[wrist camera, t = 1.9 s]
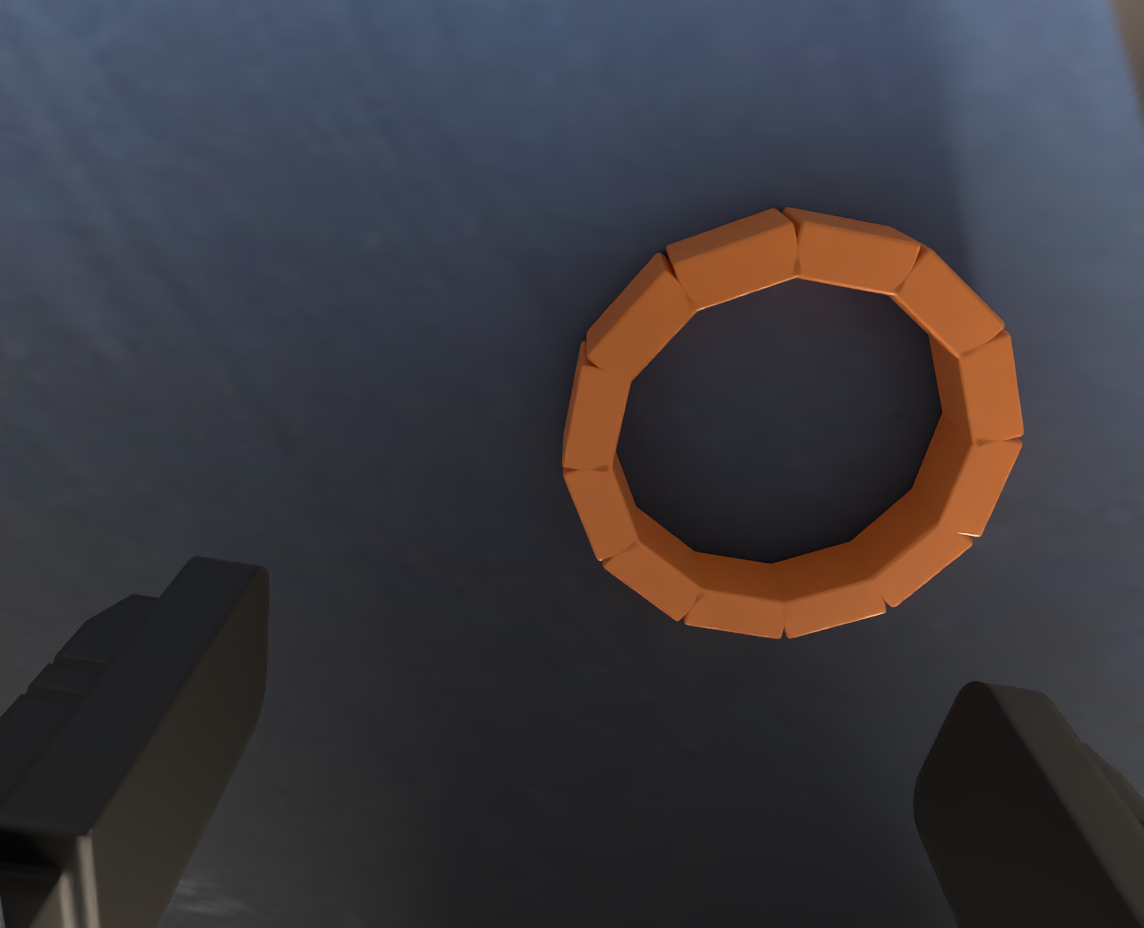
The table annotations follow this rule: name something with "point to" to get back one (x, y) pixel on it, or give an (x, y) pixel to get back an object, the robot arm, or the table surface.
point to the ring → (896, 538)
